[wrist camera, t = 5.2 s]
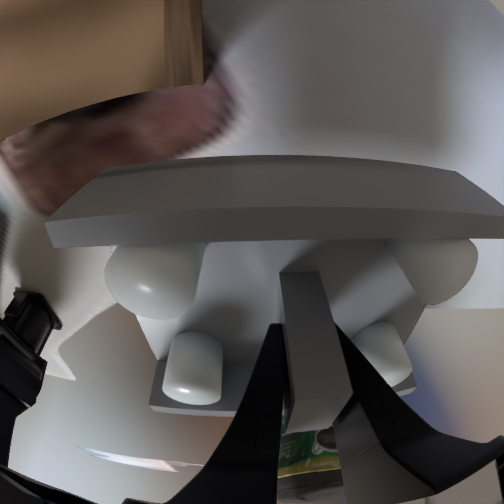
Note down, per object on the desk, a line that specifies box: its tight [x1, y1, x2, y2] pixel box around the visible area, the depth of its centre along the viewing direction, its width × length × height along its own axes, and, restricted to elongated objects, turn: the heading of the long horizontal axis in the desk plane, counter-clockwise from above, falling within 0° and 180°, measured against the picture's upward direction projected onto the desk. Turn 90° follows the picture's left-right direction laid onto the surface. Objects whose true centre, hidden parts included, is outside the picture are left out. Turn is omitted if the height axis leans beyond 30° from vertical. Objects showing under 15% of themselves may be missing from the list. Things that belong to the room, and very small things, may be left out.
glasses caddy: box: [44, 155, 504, 433], centre depth 9 cm, size 11×14×6 cm
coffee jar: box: [277, 415, 345, 503], centre depth 27 cm, size 10×8×19 cm
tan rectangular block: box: [0, 0, 204, 142], centre depth 8 cm, size 12×21×8 cm, turn 91°
